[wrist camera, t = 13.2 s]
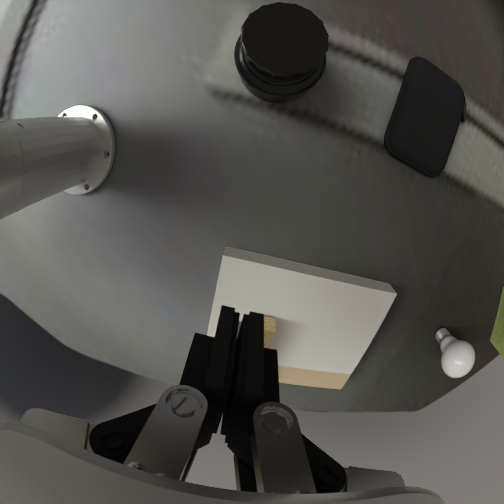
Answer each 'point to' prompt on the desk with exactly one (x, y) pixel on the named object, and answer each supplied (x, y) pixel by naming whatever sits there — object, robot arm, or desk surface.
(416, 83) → the carrying case or bag
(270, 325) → the gold bar
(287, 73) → the ink bottle
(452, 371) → the lightbulb
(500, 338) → the protein box
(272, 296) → the white cabinet door
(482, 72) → the desk surface
